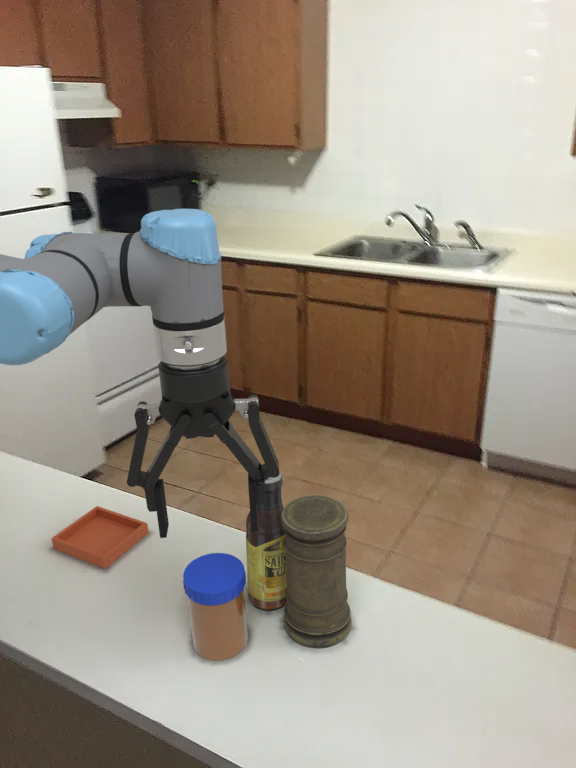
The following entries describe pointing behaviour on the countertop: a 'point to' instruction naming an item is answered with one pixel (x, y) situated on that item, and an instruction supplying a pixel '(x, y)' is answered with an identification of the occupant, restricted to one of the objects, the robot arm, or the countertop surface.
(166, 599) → the countertop surface
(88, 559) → the tray
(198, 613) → the jar
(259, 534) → the sauce bottle
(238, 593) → the lid
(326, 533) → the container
